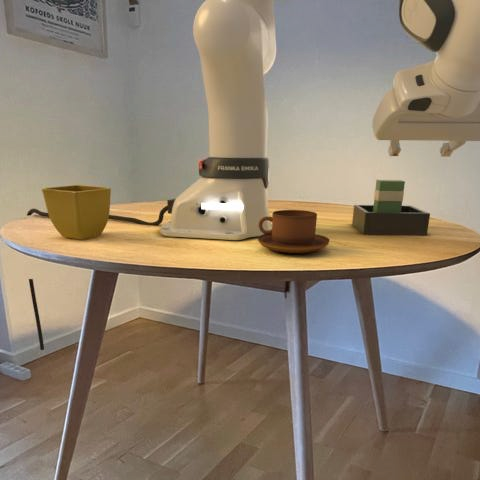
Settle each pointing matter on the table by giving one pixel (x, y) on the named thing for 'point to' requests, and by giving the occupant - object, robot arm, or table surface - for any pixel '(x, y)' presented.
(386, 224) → the dark open box
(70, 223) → the flower pot
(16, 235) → the table surface
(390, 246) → the table surface
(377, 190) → the packet
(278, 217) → the cup and saucer
